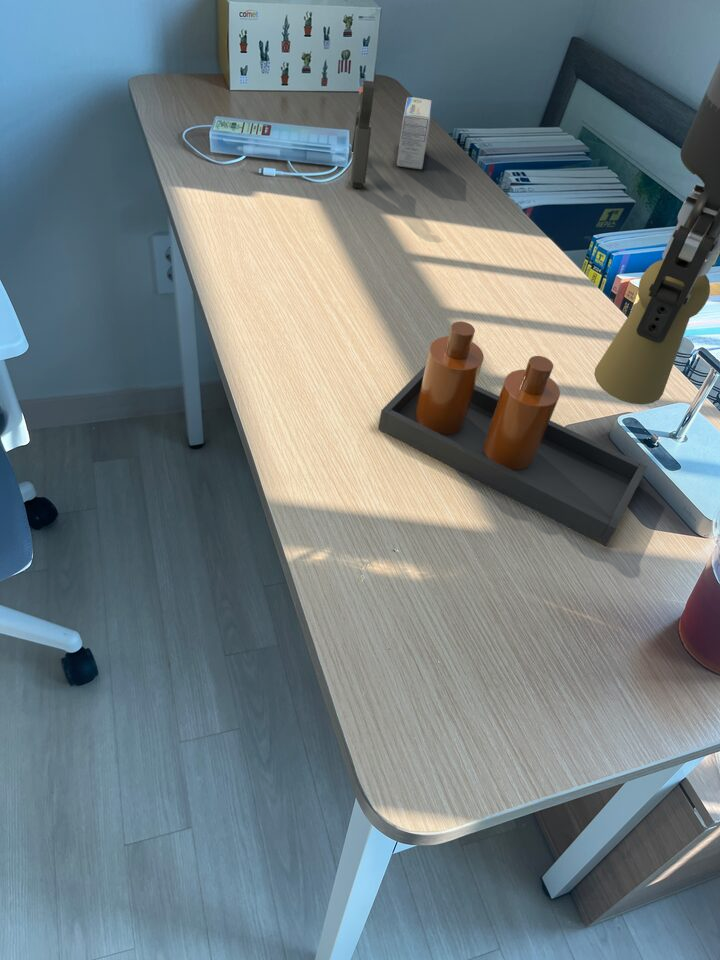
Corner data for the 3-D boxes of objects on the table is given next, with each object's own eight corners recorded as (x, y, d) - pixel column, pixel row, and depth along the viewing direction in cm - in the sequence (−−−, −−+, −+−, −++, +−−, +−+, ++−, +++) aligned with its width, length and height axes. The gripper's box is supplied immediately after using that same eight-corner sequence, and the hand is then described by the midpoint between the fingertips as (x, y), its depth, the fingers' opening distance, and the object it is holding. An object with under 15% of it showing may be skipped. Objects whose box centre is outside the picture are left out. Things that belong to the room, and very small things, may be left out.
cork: (667, 410, 63) (730, 299, 55) (596, 396, 63) (648, 283, 55) (659, 366, 67) (715, 256, 59) (592, 353, 68) (640, 242, 59)
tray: (637, 484, 81) (647, 466, 79) (605, 546, 75) (616, 528, 73) (423, 381, 89) (428, 362, 87) (377, 429, 82) (381, 410, 80)
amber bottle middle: (542, 448, 82) (578, 361, 74) (521, 478, 79) (557, 390, 70) (496, 426, 84) (526, 338, 75) (474, 454, 80) (503, 365, 72)
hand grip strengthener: (363, 155, 129) (374, 60, 118) (364, 190, 120) (377, 91, 109) (349, 154, 128) (360, 58, 117) (350, 188, 120) (361, 89, 109)
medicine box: (421, 171, 127) (431, 118, 121) (395, 166, 127) (403, 113, 121) (424, 151, 133) (433, 99, 126) (398, 147, 133) (406, 95, 126)
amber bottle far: (473, 414, 85) (500, 326, 76) (450, 442, 81) (476, 352, 73) (429, 393, 86) (451, 305, 78) (405, 419, 83) (425, 329, 74)
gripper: (809, 155, 43) (681, 385, 55) (840, 90, 52) (724, 299, 64) (682, 114, 45) (586, 343, 57) (732, 57, 54) (640, 266, 66)
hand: (659, 319), depth 61 cm, fingers closed on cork, 5 cm apart
